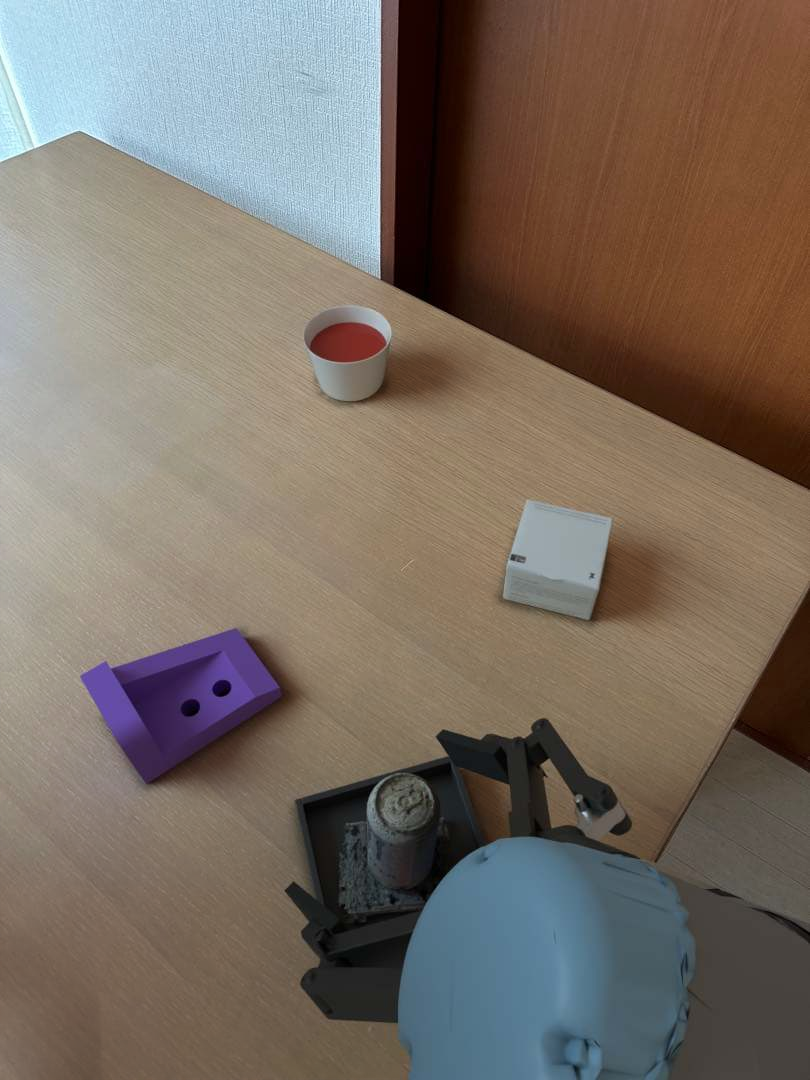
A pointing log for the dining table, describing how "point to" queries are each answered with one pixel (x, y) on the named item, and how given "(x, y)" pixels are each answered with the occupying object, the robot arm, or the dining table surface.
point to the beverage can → (395, 850)
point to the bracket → (180, 698)
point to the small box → (557, 559)
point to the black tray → (349, 805)
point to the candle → (348, 350)
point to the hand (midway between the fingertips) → (378, 820)
